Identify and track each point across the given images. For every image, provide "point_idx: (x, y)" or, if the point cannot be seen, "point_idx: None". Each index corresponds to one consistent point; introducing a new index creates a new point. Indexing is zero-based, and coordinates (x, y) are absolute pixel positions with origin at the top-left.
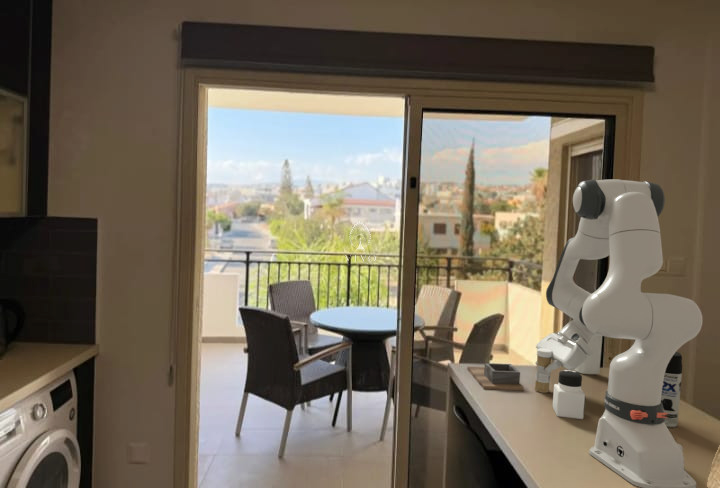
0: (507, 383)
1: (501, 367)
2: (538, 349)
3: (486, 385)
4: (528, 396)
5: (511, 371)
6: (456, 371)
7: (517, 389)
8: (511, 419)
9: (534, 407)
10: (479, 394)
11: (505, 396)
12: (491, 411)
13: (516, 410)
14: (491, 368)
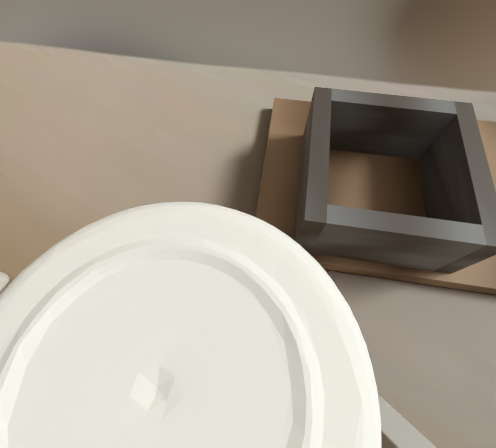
0: (297, 192)
1: (457, 191)
2: (230, 222)
3: (278, 107)
4: None
5: (321, 174)
6: (481, 92)
7: None
8: (3, 84)
9: (48, 197)
10: (220, 79)
11: (186, 147)
12: (78, 61)
13: (53, 125)
14: (369, 98)
